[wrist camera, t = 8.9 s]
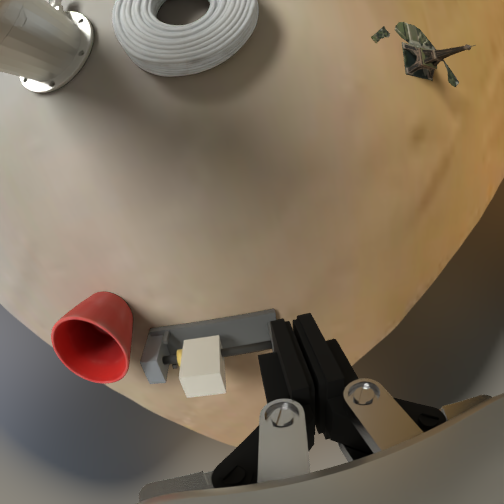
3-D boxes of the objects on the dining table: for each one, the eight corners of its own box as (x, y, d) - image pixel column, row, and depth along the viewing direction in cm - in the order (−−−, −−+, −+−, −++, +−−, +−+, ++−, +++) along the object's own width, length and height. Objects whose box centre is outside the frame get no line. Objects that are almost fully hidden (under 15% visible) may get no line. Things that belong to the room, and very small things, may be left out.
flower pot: (120, 354, 43) (104, 396, 34) (67, 311, 39) (40, 347, 30) (157, 316, 41) (144, 358, 32) (98, 266, 38) (70, 299, 28)
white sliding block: (190, 359, 41) (187, 397, 33) (183, 340, 40) (178, 377, 32) (224, 354, 41) (226, 393, 34) (219, 335, 40) (220, 372, 32)
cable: (253, -31, 26) (258, -53, 20) (259, 74, 32) (266, 61, 26) (126, -18, 24) (114, -37, 19) (119, 88, 30) (102, 78, 25)
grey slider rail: (158, 357, 43) (151, 387, 37) (147, 328, 41) (137, 358, 35) (278, 339, 44) (287, 368, 38) (274, 308, 42) (283, 336, 36)
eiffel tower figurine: (458, 83, 34) (516, 77, 21) (431, 117, 36) (494, 116, 23) (401, 11, 29) (453, -17, 17) (367, 39, 31) (421, 8, 19)
